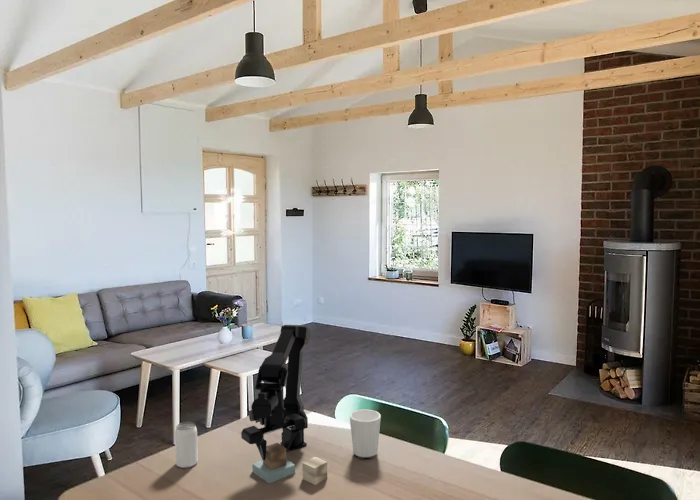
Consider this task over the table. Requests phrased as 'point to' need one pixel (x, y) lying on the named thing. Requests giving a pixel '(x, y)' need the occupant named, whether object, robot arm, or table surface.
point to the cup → (365, 432)
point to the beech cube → (314, 470)
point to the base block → (273, 471)
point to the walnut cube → (275, 456)
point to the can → (186, 445)
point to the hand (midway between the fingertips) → (274, 456)
